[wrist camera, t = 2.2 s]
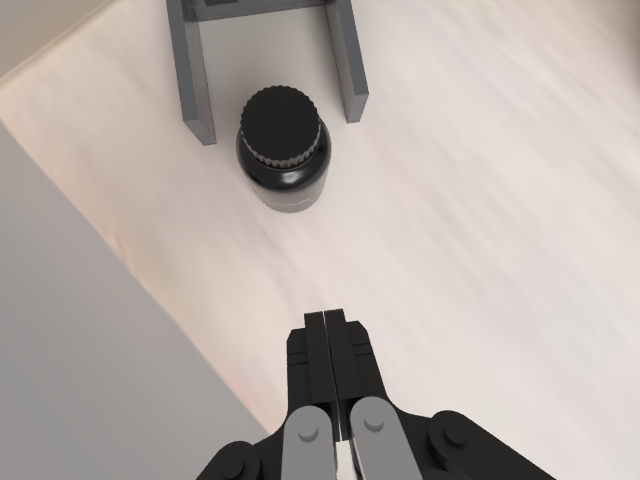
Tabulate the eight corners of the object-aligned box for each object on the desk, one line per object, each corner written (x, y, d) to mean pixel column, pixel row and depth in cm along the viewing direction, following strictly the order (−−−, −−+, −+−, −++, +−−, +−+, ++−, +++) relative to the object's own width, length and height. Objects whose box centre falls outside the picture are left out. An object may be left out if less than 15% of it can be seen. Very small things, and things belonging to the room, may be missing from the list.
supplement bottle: (287, 229, 30) (273, 203, 18) (239, 177, 30) (195, 118, 18) (340, 182, 31) (359, 126, 19) (292, 131, 31) (282, 45, 19)
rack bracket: (359, 121, 31) (368, 93, 26) (204, 145, 31) (183, 121, 26) (334, -8, 32) (339, -58, 28) (184, 12, 32) (160, -36, 27)
